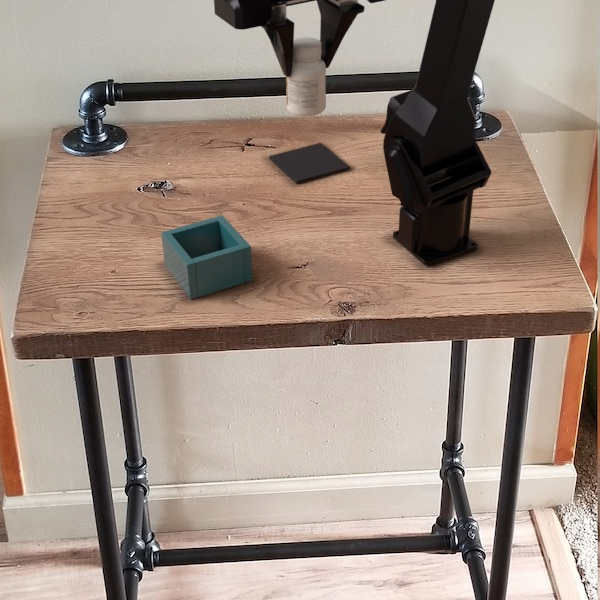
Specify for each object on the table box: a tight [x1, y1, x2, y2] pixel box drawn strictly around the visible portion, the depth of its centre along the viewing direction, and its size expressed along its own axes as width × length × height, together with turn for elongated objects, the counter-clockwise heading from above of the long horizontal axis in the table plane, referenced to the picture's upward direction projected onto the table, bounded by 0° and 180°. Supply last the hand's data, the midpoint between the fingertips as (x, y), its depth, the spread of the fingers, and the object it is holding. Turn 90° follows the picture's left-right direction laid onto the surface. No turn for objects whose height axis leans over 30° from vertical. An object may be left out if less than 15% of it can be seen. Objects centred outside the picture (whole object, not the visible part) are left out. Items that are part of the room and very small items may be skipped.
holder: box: [160, 215, 254, 300], centre depth 96 cm, size 7×7×4 cm
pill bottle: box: [285, 36, 327, 117], centre depth 108 cm, size 4×4×8 cm
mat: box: [268, 142, 351, 185], centre depth 115 cm, size 7×7×1 cm
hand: (306, 71), depth 108 cm, fingers closed on pill bottle, 4 cm apart
